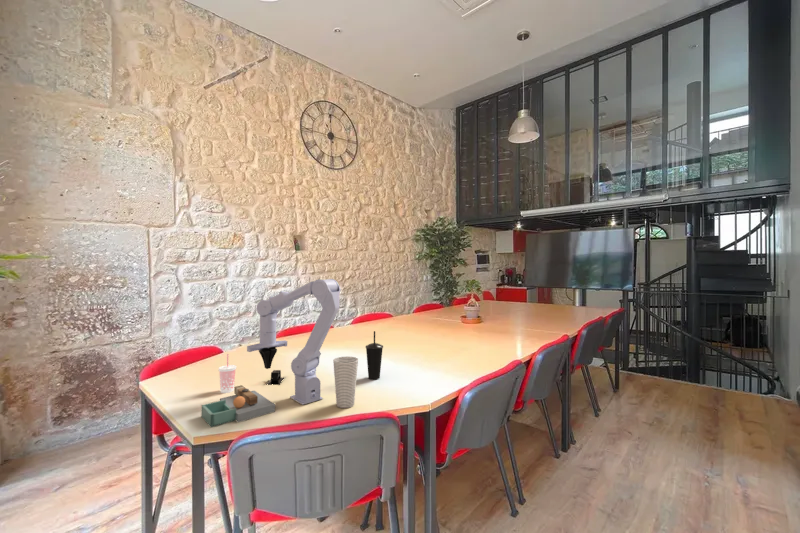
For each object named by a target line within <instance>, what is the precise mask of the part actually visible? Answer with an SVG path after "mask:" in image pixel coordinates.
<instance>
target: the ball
mask: <svg viewBox="0 0 800 533" xmlns="http://www.w3.org/2000/svg"><path fill="white" fill-rule="evenodd" d="M244 404H245V398H244V397H242V396H238V397H236V398H235V399H234V401H233V405H234V406H235V407H236V408H241V407H243V406H244Z"/></svg>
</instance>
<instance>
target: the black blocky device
mask: <svg viewBox="0 0 800 533" xmlns="http://www.w3.org/2000/svg"><path fill="white" fill-rule="evenodd" d="M283 379H284V378H282V370H281V369H273V370H272V371H271V373H270V380H269V381H268V382H267V383H265V386H275V385H276V386H280V385H281V384H282V382H283V381H284V380H285V379H284V380H283ZM282 380H283V381H282ZM281 381H282V382H281ZM280 383H281V384H280ZM267 384H268V385H267ZM272 384H273V385H272Z"/></svg>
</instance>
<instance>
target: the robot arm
mask: <svg viewBox="0 0 800 533" xmlns="http://www.w3.org/2000/svg"><path fill="white" fill-rule="evenodd" d="M341 290H342V289H341V286H340V285H339V283H338V281H337V280H336V279H334V278H326V279H321V278H319V279H314V281H310V282H307V283H306V284H303V285H302V286H300V287H297V288H296V289H294V290H292V291H284V290H281V291H279V292H278V294H276V295H274V296H273V295H272V296H269V297H268V299H261V300H260V301H259V302H258V303H257V305H256V312H257V314H258V315H259V343H255V344H249V345H246V352H248V353H251V352H255V351H258V352H259V353H258V354H260V356H261V358H262V361H263V366H264V368H265V369H266V370H269V369H271V366H272V363H273V361H274V358H275V355H276V354H277V351H278V349H277V348H281V347H288V341H287V340H277V317H278V313H279V312H280V311H282V310H284V309H287V308H288V307H291V306H292V305H293V304H294V302H295V301H296V300H299V299H300V298H305V296H309V295H312V296H314V298H315V299H316V300H317V301H318V303H320V305H321V308H322V309H321V310H320V313H319V315H318V318H317V320H316V322H315V324H314V326H313V329H312V331H311V333H310V335H309V336H308V339H307V340H306V343H305V346H304V347H303V348H302V349H301V350H300V351H299V352H298V354H297V356H296V357H294V358H293V359H292V361H291V363H290V369H291V371H292V372H293V375H294V395H293V394H292V395H290V396H289V397H290V399H292V400H293V401H296V402H297V403H299V404H301V405H307V404H310V403H313V402H316V401H321V400H323V397H322V396H321V380H320V379H319V377H318V376H317V372H316V371H317V368H318V367H319V364H320V357H321V355H322V353H321V351H320V350H321V348H322V346H323V344H324V341H325V340H326V337H327V335H328V333H329V331H330V329H331V327H332V325H333V322H334V320H335V318H336V316H337V313H338V311H339V310H340V293H341Z"/></svg>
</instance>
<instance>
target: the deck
mask: <svg viewBox="0 0 800 533" xmlns="http://www.w3.org/2000/svg"><path fill="white" fill-rule="evenodd" d="M250 391H251V392H252V393H254V394H255V395H256V396H258V403H256V404H252V405H249V404H248V403H247V402H245V404H244V406H243V407H241V408H236V407H235V406H234V405H233V401H234V399H235V398H236V397H238V396H237V395H236V394H234V395H229V396H225V397H221V398H219V401H221V400H226V404H227V405H228V406H229V407H230V408H231V409H234V408H236V420H235V421H236V422H237V423H240V422H243V421H247V420H248V421H249V420H251V419H255V418H258V417H261V416H264V415H269V414H271V413H274V412H276V403H274V402H273V401H271V400H270V399H268V398H267V397H265V396H264V395H262V394H261V393H259V392H258V391H256V390H250Z"/></svg>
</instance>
